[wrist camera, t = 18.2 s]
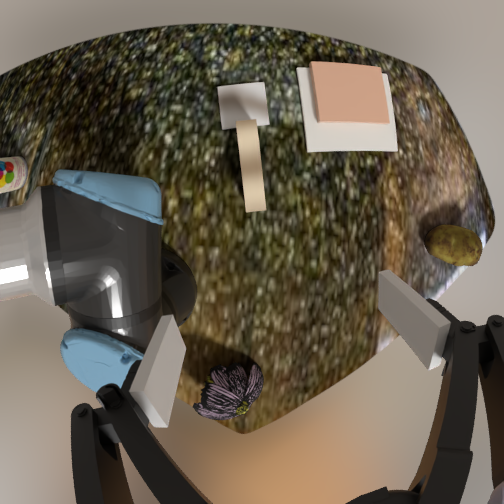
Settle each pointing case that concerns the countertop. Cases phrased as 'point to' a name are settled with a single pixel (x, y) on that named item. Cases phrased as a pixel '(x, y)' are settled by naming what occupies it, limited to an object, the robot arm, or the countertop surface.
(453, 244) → the potato
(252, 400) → the decorative flower
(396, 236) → the countertop surface
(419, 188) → the countertop surface
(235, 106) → the scraper
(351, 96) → the tile
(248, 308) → the countertop surface
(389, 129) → the mat
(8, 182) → the aerosol can
